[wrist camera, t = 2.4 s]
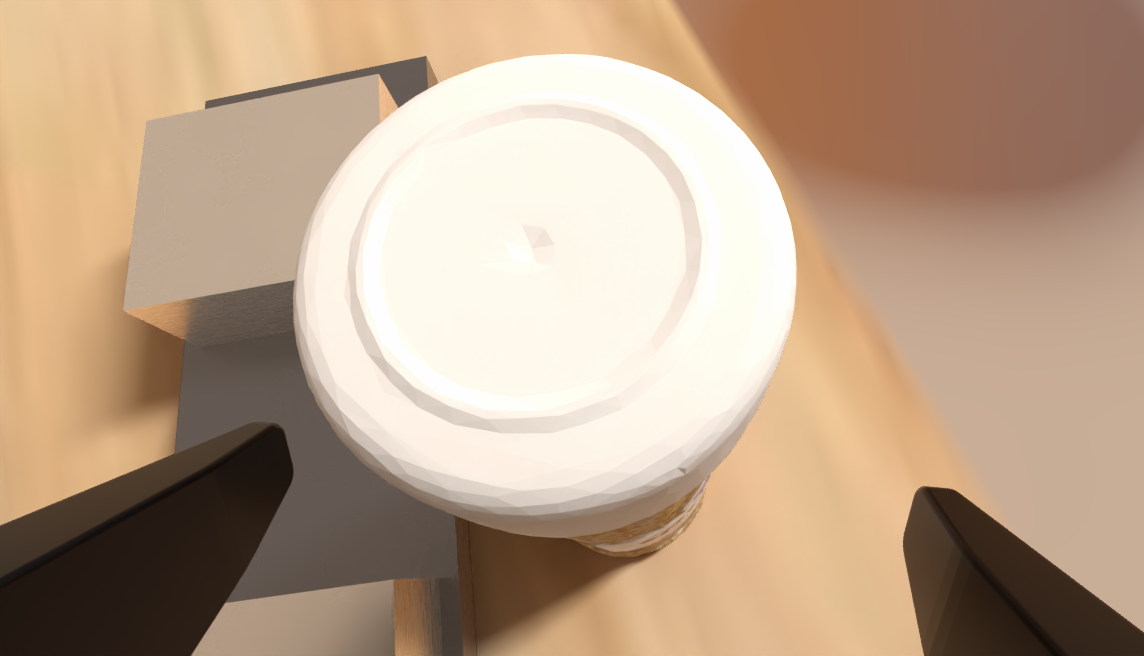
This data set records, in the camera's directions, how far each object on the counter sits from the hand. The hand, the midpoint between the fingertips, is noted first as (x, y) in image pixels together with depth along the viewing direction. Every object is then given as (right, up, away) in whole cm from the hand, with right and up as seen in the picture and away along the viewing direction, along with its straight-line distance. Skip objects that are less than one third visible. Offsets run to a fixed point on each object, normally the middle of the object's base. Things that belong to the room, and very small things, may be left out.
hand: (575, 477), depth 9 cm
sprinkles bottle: (+1, -2, +9) cm, 9 cm away
